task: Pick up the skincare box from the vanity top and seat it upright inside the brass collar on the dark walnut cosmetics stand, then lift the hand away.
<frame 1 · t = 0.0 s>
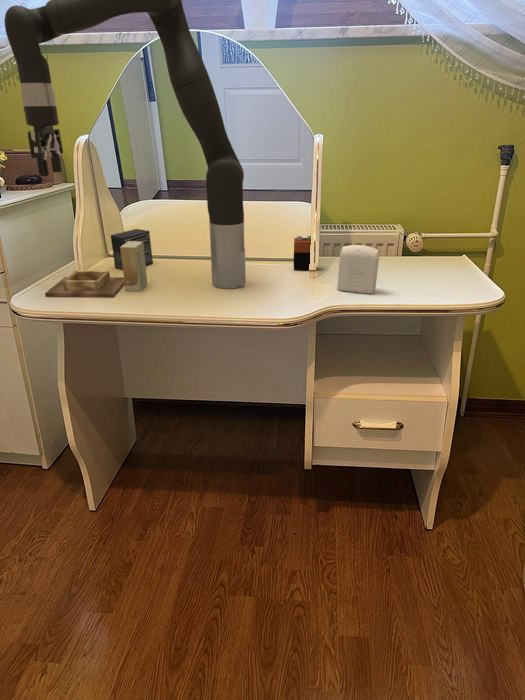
hand: (51, 173, 133), 29 cm above the table, fingers open, 8 cm apart
battery: (304, 269, 158), on the table
skincare box: (136, 288, 142), on the table
cosmetics stand: (88, 288, 141), on the table
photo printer: (356, 291, 140), on the table
small box: (134, 266, 161), on the table
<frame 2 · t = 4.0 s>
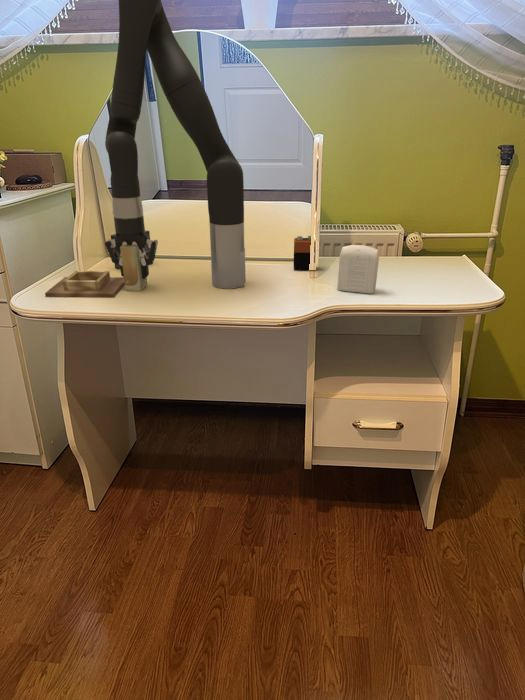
hand: (135, 277, 141), 3 cm above the table, fingers closed on skincare box, 4 cm apart
skincare box: (136, 288, 142), on the table, touching gripper
everything else where it was.
when the fingers open (5 cm above the table, at t = 9.6 s): skincare box drops 1 cm, resting on cosmetics stand.
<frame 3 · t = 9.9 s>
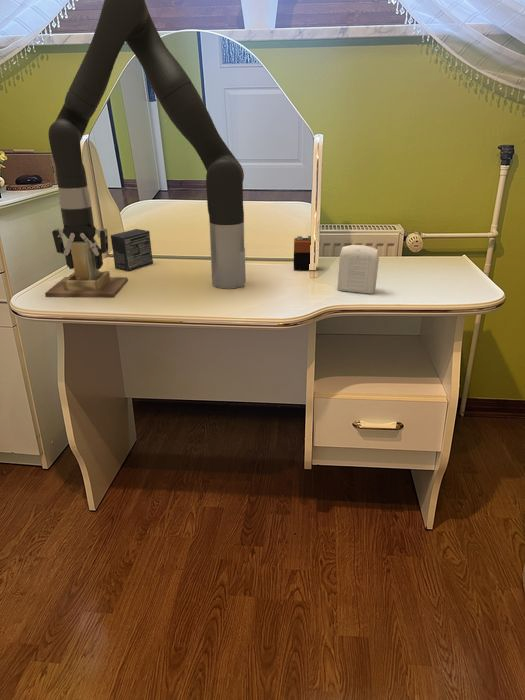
hand: (85, 268, 139), 6 cm above the table, fingers open, 6 cm apart
skincare box: (88, 285, 141), point 1 cm above the table, touching cosmetics stand
everything else where it was.
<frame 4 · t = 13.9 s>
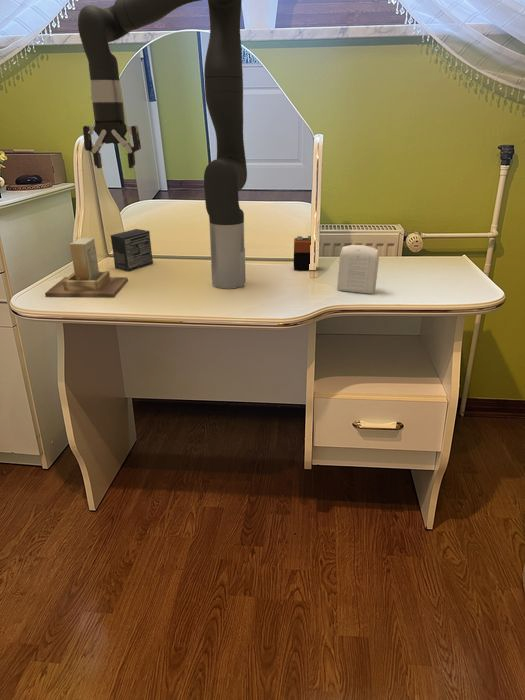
hand: (115, 168, 138), 30 cm above the table, fingers open, 8 cm apart
nothing on the table moved.
at the end: skincare box 0.2 cm off-centre on the cosmetics stand, point 0.8 cm above the cosmetics stand's base; skincare box tilted 0°; the gripper is holding nothing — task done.
